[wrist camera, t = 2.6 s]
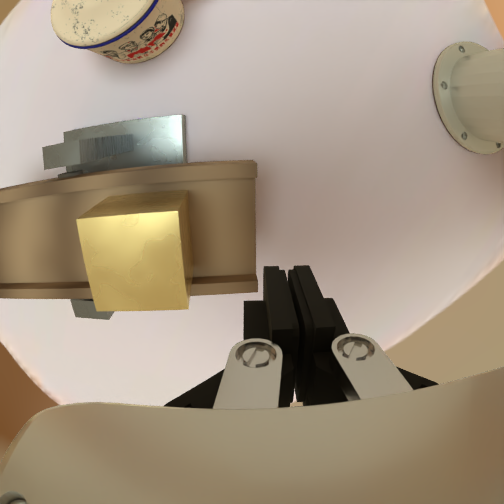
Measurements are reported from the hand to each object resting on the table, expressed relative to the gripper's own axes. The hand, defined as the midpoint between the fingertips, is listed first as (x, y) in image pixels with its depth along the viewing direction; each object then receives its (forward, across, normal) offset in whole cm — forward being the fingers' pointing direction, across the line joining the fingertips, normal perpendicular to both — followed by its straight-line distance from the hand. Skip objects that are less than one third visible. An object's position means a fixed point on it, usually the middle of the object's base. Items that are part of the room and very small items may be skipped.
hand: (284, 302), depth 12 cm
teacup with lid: (+18, +10, -18) cm, 28 cm away
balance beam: (+10, +13, 0) cm, 17 cm away
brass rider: (+8, +7, 0) cm, 11 cm away
